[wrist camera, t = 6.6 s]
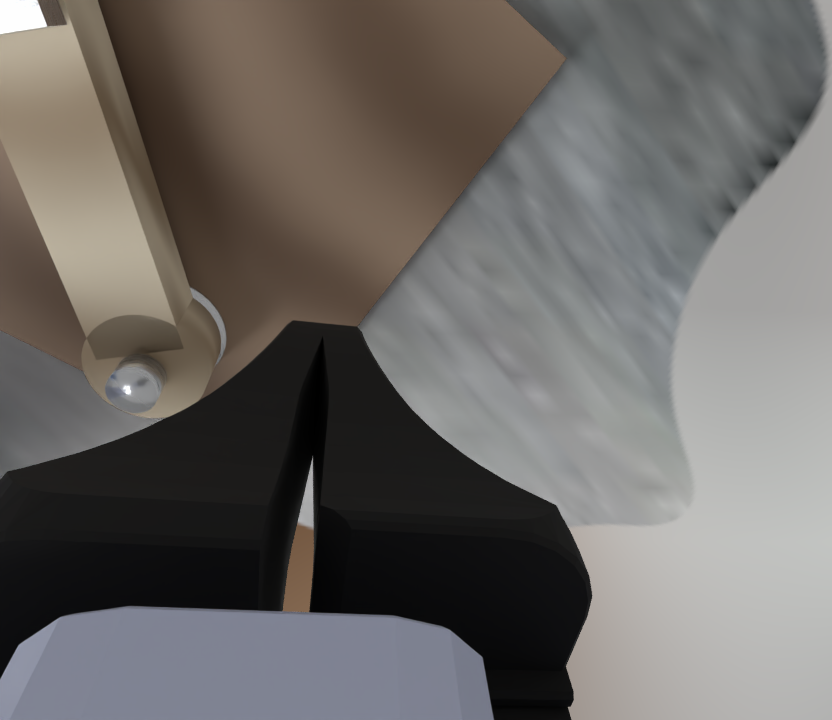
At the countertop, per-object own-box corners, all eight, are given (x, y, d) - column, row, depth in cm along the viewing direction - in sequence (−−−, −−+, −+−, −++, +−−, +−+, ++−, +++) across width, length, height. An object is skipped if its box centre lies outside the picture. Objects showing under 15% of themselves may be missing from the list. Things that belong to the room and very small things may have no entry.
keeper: (240, 371, 21) (217, 438, 18) (132, 387, 21) (90, 457, 18) (12, -319, 13) (-110, -429, 10) (-168, -290, 13) (-351, -391, 10)
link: (233, 376, 21) (221, 410, 19) (128, 390, 21) (107, 425, 19) (69, -162, 14) (26, -185, 12) (-92, -142, 14) (-158, -163, 12)
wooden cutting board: (259, 440, 24) (255, 456, 23) (-378, 116, 17) (-417, 123, 16) (557, 55, 18) (566, 58, 17) (-247, -701, 11) (-299, -761, 10)
